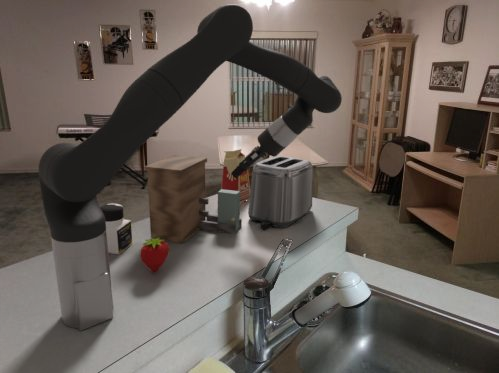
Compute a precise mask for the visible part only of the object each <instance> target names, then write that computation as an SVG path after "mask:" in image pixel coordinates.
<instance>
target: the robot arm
mask: <svg viewBox="0 0 499 373" xmlns="http://www.w3.org/2000/svg"><path fill="white" fill-rule="evenodd" d="M253 23H254V22H253V19H252V16H251V14H250V13H249V12H248V10H247V9H245V7H243V6H241V5H239V4H234V3H230V4H229V3H228V4H224V5H220V6H219V7H217V8H216V9H215V10H213V11H212V12H210V13H209V14H208V15H207V16H205V17H204V18H203V19H201V21H200V22H199V25H198V26H197V32H196V33H197V34H195V35H194V36H193V37H192V38H190V40H188V41H187V42H185V43H184V44H182V45H180V46H179V47H177V48H176V49H174V50H173V51H171V52H170V53H167V55H165V56H164V57H162V58H161V59H159V60H158V61H156V63H154V64H153V65H151V66H150V67H149V68H147V69H146V70H145V71H144V72H143V73H142V74H141V75H140V76H138V77H137V79H135V80H134V81H133V82H132V83H131V84H130V85H129V86H128V87H127V88H126V90H125V91H124V93H123V94H122V96H121V98H120V99H119V100H118V103H117V105H116V106H115V108H114V109H113V112H112V114H111V115H110V117H109V118H108V119H107V120H106V122H104V123H103V124H102V126H101V127H99V128H98V129H97V130H95V131H94V133H92V134H91V135H90V136H88V137H87V138H85V140H83V141H82V142H80V143H79V144H76V143H72V142H61V143H60V142H59V143H56V144H54V145H51V146H50V147H49V148H47V149H46V150H45V152H44V153H43V154H42V155H41V158H40V159H39V163H38V180H39V186H40V187H39V188H40V193H41V198H42V199H41V200H42V205H43V209H44V210H43V211H44V215H45V219H46V222H47V223H48V227H49V231H50V232H49V233H50V238H51V239H50V240H51V245H52V254H53V261H54V269H55V277H56V284H57V291H58V292H57V293H58V298H59V299H58V300H59V304H60V312H61V319H62V322H63V323H64V325H66V327H67V326H68V327H70V328H76V329H78V330H79V331H80V332H81V331H84V330H86V329H87V330H88V329H89V328H91V327H94V326H96V325H98V324H101V323H103V322H106V321H107V320H108V321H109V320H110V319H113V318H114V301H113V299H114V298H113V290H112V281H111V268H110V259H109V256H110V255H109V253H108V245H107V233H106V221H105V216H104V214H103V212H102V210H101V208H100V207H101V206H100V203H99V200H98V198H97V196H98V195H99V194H100V193H101V192H102V191H103V190H104V189H105V188H106V187H107V186H108V185H109V183H110V182H111V181H112V179H113V178H114V177H115V176H116V175H117V173H118V172H119V171H120V170H121V168H122V167H123V166H124V165H125V164H126V163H127V161H128V160H129V159H130V158H131V157H132V155H133V154H135V152H136V151H137V150H138V149H139V148H140V147H141V146H143V144H145V143H146V142H147V141H148V140H149V139H150V138H151V137H152V136H153V135H154V134H155V133H156V132H157V131H158V130H159V129H160V128H161V127H162V126H164V124H165V123H167V122H168V121H169V120H170V119H171V118H172V117H173V116H174V115H175V114H176V113H177V112H178V111H179V110H180V109H181V108H182V107H184V105H185V104H186V103H187V102H188V101H189V100H190V99H191V97H193V95H194V94H195V93H196V92H197V91H198V90H199V89H200V88H201V87H202V86H203V85H204V83H205V82H206V81H207V80H208V78H209V77H210V76H212V74H213V73H214V72H215V71H216V70H217V69H218V68H219V67H220V66H222V65H223V64H224V63H225V62H228V63H230V64H231V63H232V64H234V65H236V66H238V67H242V68H243V69H244V68H245V69H246V70H249V71H251V72H253V73H256V74H258V75H260V76H262V77H265V78H266V79H268V80H271V81H273V82H274V83H276V84H277V85H279V86H281V87H282V88H284V89H286V90H288V91H289V92H291V93H293V94H295V95H297V96H298V97H297V98H296V99H295V101H294V102H293V104H292V106H290V107H289V108H288V109H287V110H286V111H285V112H284V113H282V114H281V116H279V117H278V118H276V119H275V120H274V121H273V122H272V123H271V124H269V126H267V127H266V128H265V129H264V130H263V131H261V133H260V134H259V135H258V136H257V142H258V144H259V145H257V146H255V147H254V148H253V149H252V150H251V152H249V153H248V154H247V155H245V159H244V160H243V161H242V162H240V164H239V166H238V167H237V168H236V169H235V170H233V171H232V172H231V174H232V175H233V177H234V178H237V177H239V176H240V175H241V174H242V173H243V172H244V171H247V170H248V169H249V168H250V167H253V166H255V164H257V163H258V162H260V161H261V160H263V159H264V158H265V157H266V156H267V155H266V154H267V153H268V154H269V155H270V157H275V156H279V154H280V153H282V152H283V151H284V150H285V149H286V148H287V147H288V146H289V145H290V144H292V143H293V142H295V139H297V138H298V136H299V135H300V134H302V133H303V132H304V131H306V129H307V128H308V127H309V126H310V125H311V124H312V123H313V119H314V118H313V111H315V110H316V111H317V112H320V113H323V114H330V113H331V114H332V113H333V112H336V111H337V110H338V109H339V108H340V107H341V103H342V97H343V96H342V94H341V92H340V90H339V88H337V86H336V84H335V83H334V82H333V81H332V79H331V78H330V77H329V76H326V75H319V76H318V75H317V74H316V73H315V71H313V70H312V69H311V68H310V67H309V66H307V65H306V64H304V63H302V62H301V61H299V60H298V59H296V58H294V57H293V56H291V55H290V54H289V55H288V54H287V53H283V52H280V51H277V50H274V49H269V48H266V47H264V46H260V45H258V44H255V43H254V42H252V41H250V40H251V38H252V35H253V31H254V24H253ZM245 161H246V162H245ZM244 162H245V163H244Z"/></svg>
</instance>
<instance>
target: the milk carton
mask: <svg viewBox="0 0 499 373" xmlns="http://www.w3.org/2000/svg"><path fill="white" fill-rule="evenodd" d="M223 152H224V153H225V154H224V158H223V166H222V175H221V176H222V177H221V184H220V185H221V187H220V190H221V189H224V190H233V191H240V203H241V204H243V203H245V202H244V201H246V200H248V201H249V199H250V184H249V177H248V170H247V171H244V172H243V173H242V174H241V175H240V176H239V177H237V178H234V177H233V175H232V174H231V172H232V171H233V170H235V169H236V168H237V167H238V166H239V164H240V162H242V161H243V160H244V159H245V157H246V155H245V154H244V153H242V148H241V149H236V150H225V151H223ZM245 162H246V161H245ZM245 162H244V163H245ZM242 202H243V203H242ZM246 202H247V201H246Z"/></svg>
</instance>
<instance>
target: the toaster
mask: <svg viewBox="0 0 499 373" xmlns="http://www.w3.org/2000/svg"><path fill="white" fill-rule="evenodd" d="M313 171H314V168H313V164H312V162H311V161H310V160H308V159H304V158H297V157H294V156H293V157H292V156H285V155H277V156H275V157H273V156H270V157H269V158H268V159H265V160H262V161H260V162H258V163H257V164H255V165H254V167H253V170H252V179H251V189H250V199H249V200H248V208H247V209H248V218H249V219H250V220H251V221H252V222H256V221H261V222H260V230H261V229H262V231H266V230H268V229H269V228H271V227H276V228H288V227H289V226H291V225H293V224H294V223H295V222H296V221H297V220H299V219H300V218H302V217H303V216H305V215H306V214H308V213H309V212H311V209H312V207H313V183H314V182H313V180H314V179H313V178H314V177H313V176H314V175H313V174H314V173H313Z"/></svg>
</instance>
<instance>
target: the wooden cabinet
mask: <svg viewBox="0 0 499 373" xmlns="http://www.w3.org/2000/svg"><path fill="white" fill-rule="evenodd" d="M206 163H208V158H207V157H202V156H201V157H200V156H189V155H187V156H186V155H179V154H174V155H171V156H169V157H166V158H164V159H163V158H162V159H161V160H158V161H156V162H153V163H150V164H148V165H145V166H144V171H145V172H146V173H147V188H148V191H147V192H148V193H147V194H148V206H149V207H148V209H149V227H150V228H149V230H150V239H151V238H153V239H157V238H159V237H160V238H159V239H158V240H164V242H165V241H167V242H173V243H176V244H177V243H179V244H183V243H184V242H186V241H187V240H188V239H189V238H191V237H192V235H194V234H195V233H196V232H197V231H198V230H206V231H213V232H219V233H226V234H233V235H235V234H236V232H237V231H236V225H232V224H225V223H218V214H217V215H215V214H212V213H211V214H209V210H206V205H208V204H209V198H207V197H206ZM242 223H243V219H242V218H240V217H239V228H242Z"/></svg>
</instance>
